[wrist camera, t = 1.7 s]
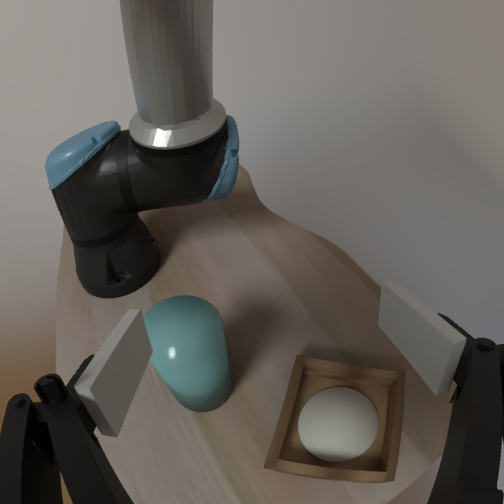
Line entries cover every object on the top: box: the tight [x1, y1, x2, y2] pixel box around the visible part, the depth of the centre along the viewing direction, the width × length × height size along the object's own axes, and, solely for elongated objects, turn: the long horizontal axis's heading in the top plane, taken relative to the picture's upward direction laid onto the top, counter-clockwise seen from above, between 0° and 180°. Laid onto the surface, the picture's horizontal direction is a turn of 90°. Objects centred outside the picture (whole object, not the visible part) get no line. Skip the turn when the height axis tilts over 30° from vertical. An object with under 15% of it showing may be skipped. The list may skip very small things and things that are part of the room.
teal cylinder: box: [143, 296, 232, 412], centre depth 26 cm, size 7×7×12 cm
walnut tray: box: [264, 355, 405, 483], centre depth 24 cm, size 13×13×3 cm
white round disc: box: [298, 387, 378, 462], centre depth 25 cm, size 9×9×1 cm
